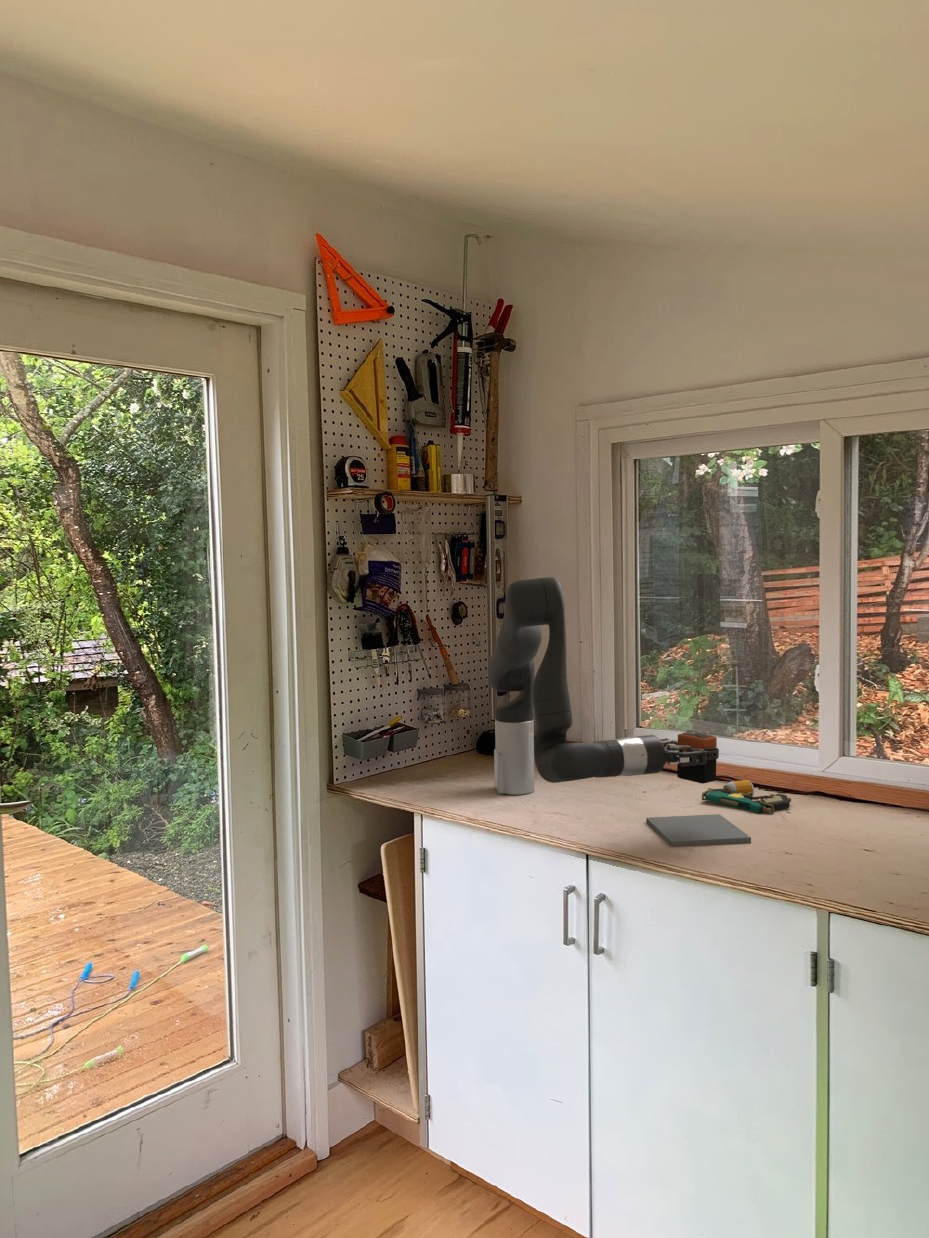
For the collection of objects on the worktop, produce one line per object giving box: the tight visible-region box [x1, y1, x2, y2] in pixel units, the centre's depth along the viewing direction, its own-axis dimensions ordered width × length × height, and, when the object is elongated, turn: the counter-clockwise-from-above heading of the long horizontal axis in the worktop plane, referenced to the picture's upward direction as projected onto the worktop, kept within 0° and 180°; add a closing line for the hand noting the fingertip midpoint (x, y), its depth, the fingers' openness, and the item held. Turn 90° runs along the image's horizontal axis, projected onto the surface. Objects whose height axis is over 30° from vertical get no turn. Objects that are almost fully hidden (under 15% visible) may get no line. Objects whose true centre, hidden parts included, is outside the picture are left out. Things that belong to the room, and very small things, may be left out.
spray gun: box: [701, 779, 792, 815], centre depth 205 cm, size 4×17×15 cm
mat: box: [645, 813, 752, 847], centre depth 186 cm, size 16×16×1 cm
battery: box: [676, 729, 718, 785], centre depth 185 cm, size 4×7×10 cm, turn 38°
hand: (705, 748), depth 185 cm, fingers closed on battery, 7 cm apart
